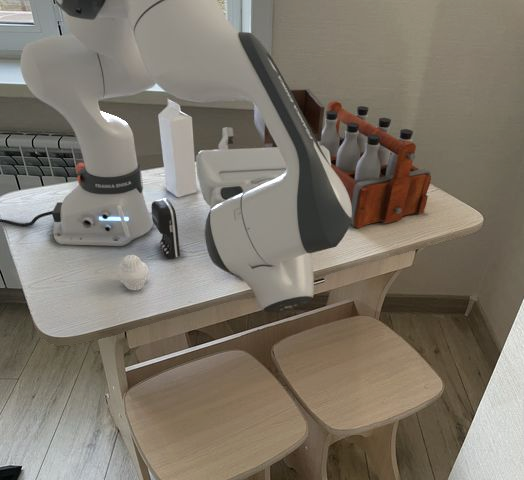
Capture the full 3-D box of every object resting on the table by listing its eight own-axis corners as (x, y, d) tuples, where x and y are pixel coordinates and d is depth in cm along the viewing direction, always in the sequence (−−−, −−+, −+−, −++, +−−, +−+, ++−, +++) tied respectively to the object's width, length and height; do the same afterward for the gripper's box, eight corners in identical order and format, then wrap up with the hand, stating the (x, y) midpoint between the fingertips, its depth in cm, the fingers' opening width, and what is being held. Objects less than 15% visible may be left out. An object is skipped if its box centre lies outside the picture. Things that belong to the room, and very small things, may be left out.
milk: (177, 197, 129) (168, 107, 114) (166, 189, 132) (155, 100, 117) (197, 191, 131) (191, 103, 116) (185, 183, 135) (178, 96, 120)
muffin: (118, 296, 97) (112, 266, 92) (120, 278, 102) (114, 248, 97) (151, 293, 98) (146, 263, 93) (150, 276, 102) (146, 246, 98)
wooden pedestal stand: (261, 243, 113) (265, 108, 93) (252, 218, 122) (254, 90, 102) (310, 240, 115) (324, 107, 95) (298, 215, 123) (309, 88, 104)
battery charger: (154, 245, 111) (148, 198, 103) (171, 242, 112) (165, 194, 105) (164, 261, 107) (157, 212, 99) (181, 257, 108) (176, 209, 100)
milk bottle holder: (360, 234, 117) (375, 153, 104) (290, 176, 140) (295, 103, 127) (430, 217, 124) (452, 139, 111) (352, 165, 147) (363, 94, 134)
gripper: (344, 190, 71) (327, 111, 75) (202, 198, 68) (191, 116, 72) (333, 214, 77) (317, 140, 81) (202, 223, 74) (192, 145, 78)
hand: (257, 129), depth 76 cm, fingers open, 8 cm apart
